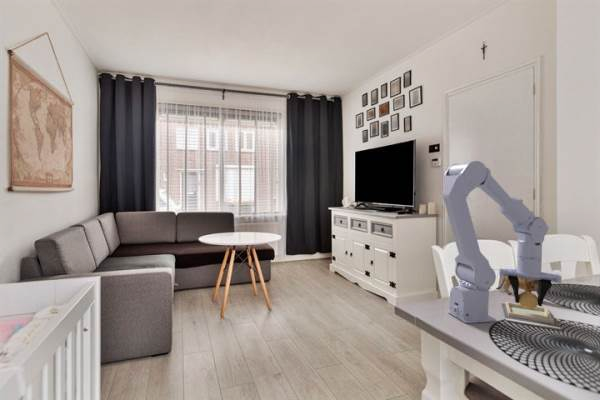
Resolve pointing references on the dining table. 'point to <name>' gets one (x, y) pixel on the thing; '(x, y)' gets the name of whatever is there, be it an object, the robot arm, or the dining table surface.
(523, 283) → the lion figurine
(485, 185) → the robot arm
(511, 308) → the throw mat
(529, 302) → the ball
